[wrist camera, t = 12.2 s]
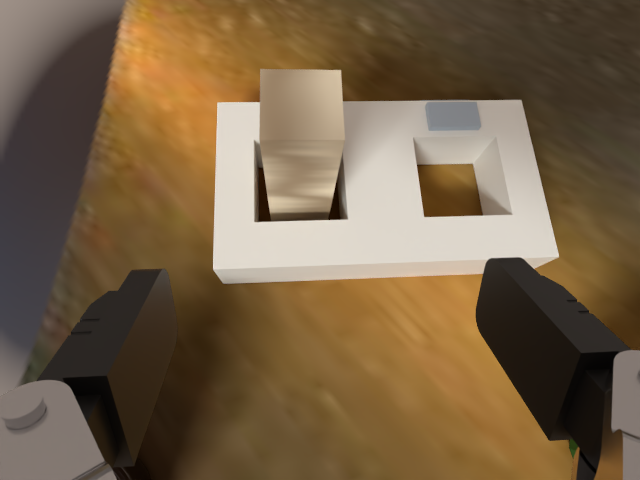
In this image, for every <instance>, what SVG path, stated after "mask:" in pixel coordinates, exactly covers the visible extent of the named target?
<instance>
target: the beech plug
mask: <svg viewBox="0 0 640 480" xmlns="http://www.w3.org/2000/svg"><path fill="white" fill-rule="evenodd" d="M259 141H260V148H261V155H262V162H263V169H264V176H265V183H266V189H267V196H268V203H269V210H270V217H271V222H278V221H313V220H328V218H329V213H330V209H331V204H332V199H333V195H334V190H335V185H336V180H337V176H338V171H339V166H340V161H341V157H342V152H343V147H344V143H345V131H344V114H343V97H342V80H341V70H292V69H260V128H259Z"/></svg>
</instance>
